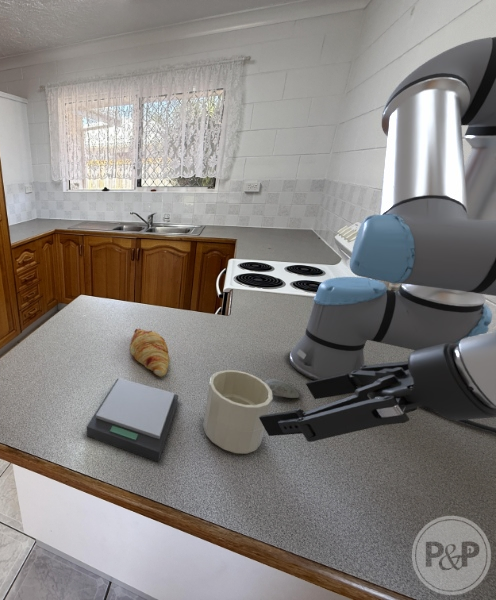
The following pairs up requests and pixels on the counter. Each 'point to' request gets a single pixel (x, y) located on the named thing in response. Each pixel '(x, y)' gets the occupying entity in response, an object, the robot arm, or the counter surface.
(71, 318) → the counter surface
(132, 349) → the croissant
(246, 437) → the cream cylinder cup
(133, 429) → the scale
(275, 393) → the soupspoon
